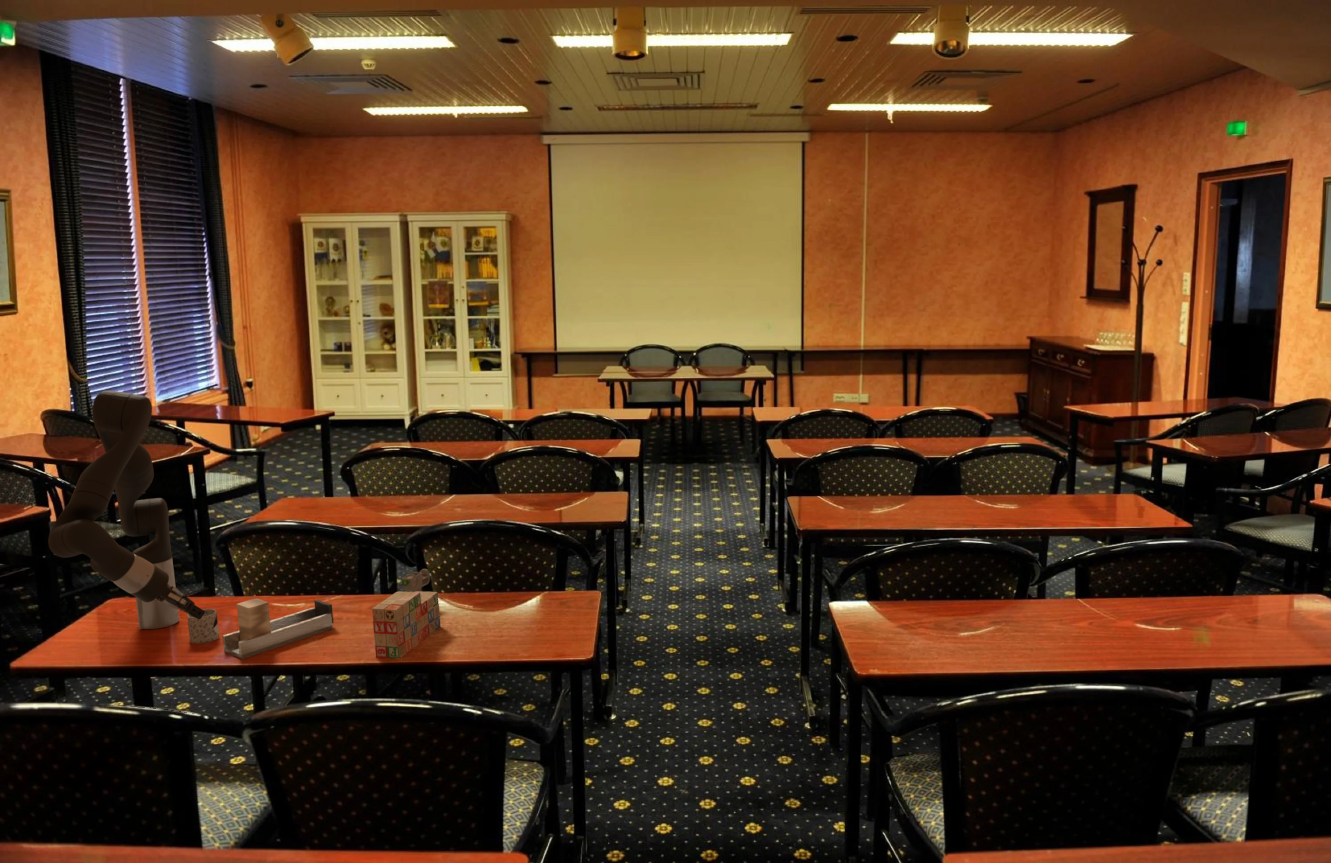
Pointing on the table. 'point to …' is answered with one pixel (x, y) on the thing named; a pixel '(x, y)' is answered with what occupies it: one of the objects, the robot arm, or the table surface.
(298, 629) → the chute
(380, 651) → the stack of blocks
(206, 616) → the mug
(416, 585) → the mechanical component
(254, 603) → the birch block
